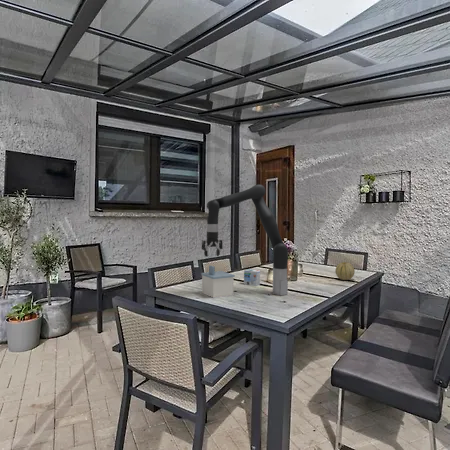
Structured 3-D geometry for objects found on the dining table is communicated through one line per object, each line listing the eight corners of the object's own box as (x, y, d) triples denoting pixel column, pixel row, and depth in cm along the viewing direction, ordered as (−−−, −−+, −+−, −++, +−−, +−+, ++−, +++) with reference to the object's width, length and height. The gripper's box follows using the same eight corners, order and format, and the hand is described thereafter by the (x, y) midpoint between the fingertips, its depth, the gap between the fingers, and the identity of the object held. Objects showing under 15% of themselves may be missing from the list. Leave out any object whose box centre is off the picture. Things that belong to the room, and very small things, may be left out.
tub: (233, 295, 219) (233, 276, 218) (213, 297, 211) (213, 278, 211) (221, 290, 232) (221, 272, 231) (201, 292, 224) (202, 274, 223)
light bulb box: (243, 284, 251) (243, 270, 250) (247, 282, 257) (247, 268, 256) (256, 286, 246) (257, 271, 245) (260, 284, 252) (260, 270, 251)
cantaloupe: (351, 278, 280) (352, 260, 279) (356, 282, 265) (357, 263, 264) (333, 277, 281) (333, 260, 280) (337, 281, 266) (337, 262, 266)
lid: (234, 276, 218) (234, 266, 218) (213, 279, 210) (213, 268, 210) (221, 272, 232) (221, 263, 232) (201, 274, 223) (201, 264, 223)
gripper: (205, 231, 210) (205, 257, 211) (224, 231, 218) (224, 256, 219) (200, 230, 217) (199, 256, 217) (219, 230, 224) (218, 254, 225)
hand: (212, 256), depth 218 cm, fingers open, 8 cm apart
